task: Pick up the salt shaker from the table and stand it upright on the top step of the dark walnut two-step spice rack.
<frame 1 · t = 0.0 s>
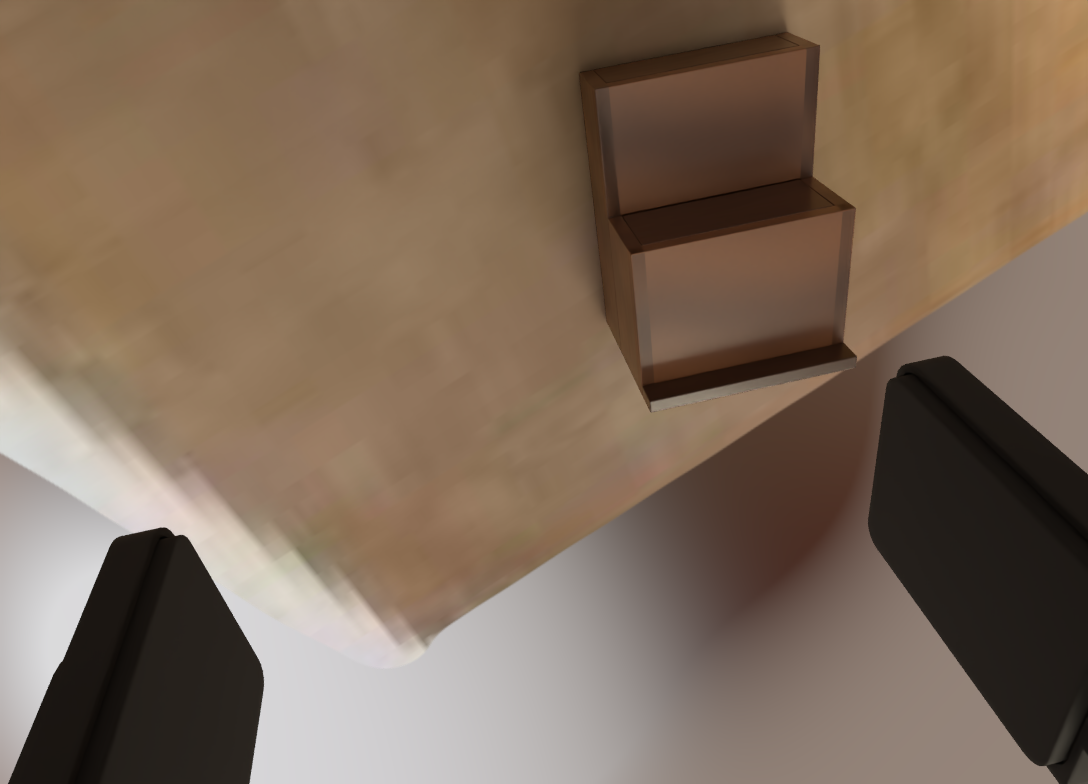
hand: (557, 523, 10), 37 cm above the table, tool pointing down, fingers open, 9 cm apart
spice rack: (689, 190, 48), on the table
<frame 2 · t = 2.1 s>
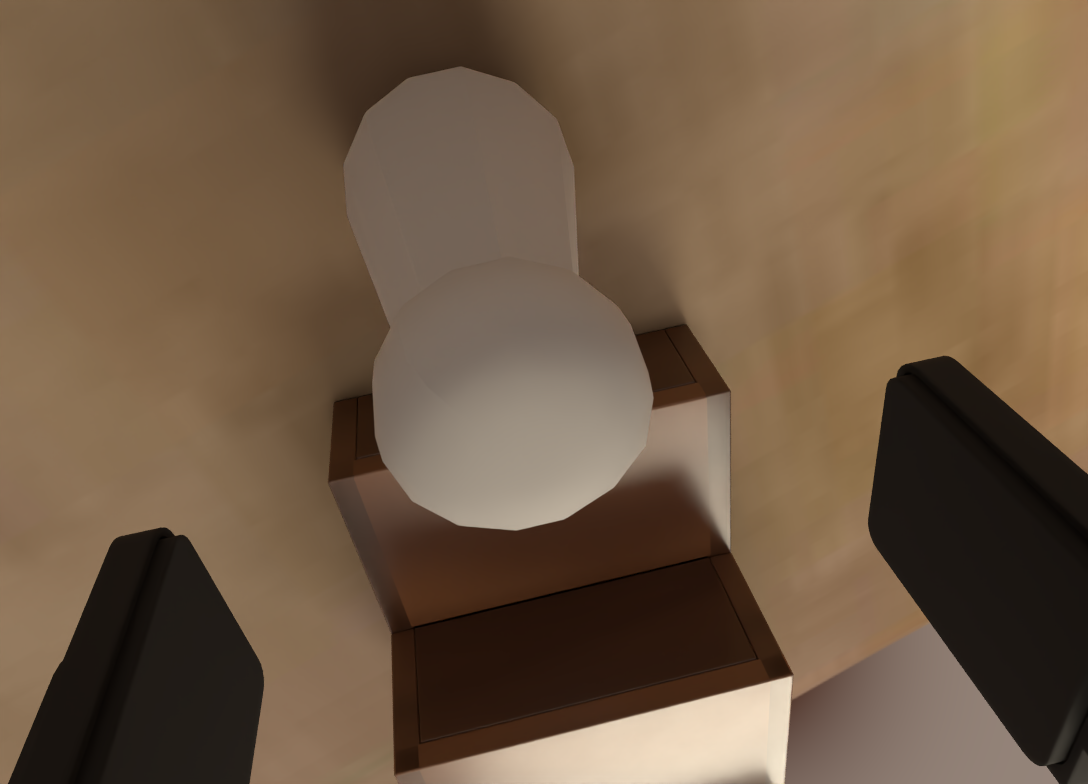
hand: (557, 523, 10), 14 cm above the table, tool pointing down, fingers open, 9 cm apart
salt shaker: (452, 157, 22), on the table
spice rack: (546, 529, 30), on the table
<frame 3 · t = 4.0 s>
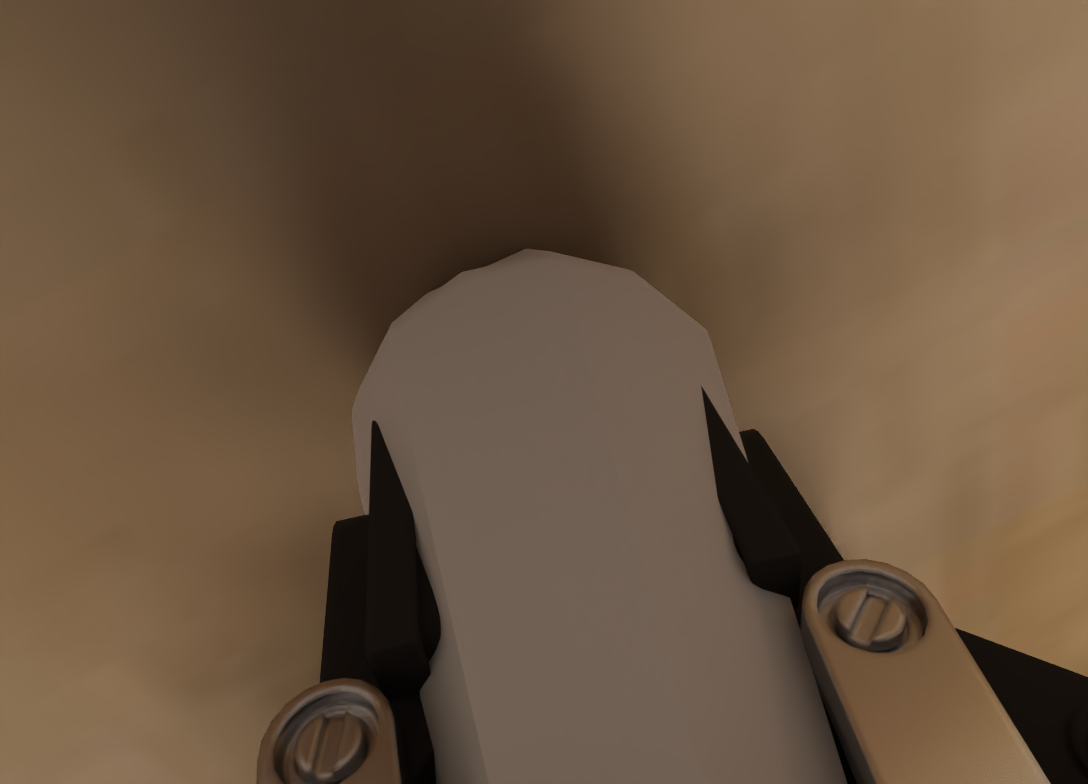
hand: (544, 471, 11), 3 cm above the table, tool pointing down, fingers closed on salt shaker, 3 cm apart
salt shaker: (519, 350, 14), on the table, touching gripper
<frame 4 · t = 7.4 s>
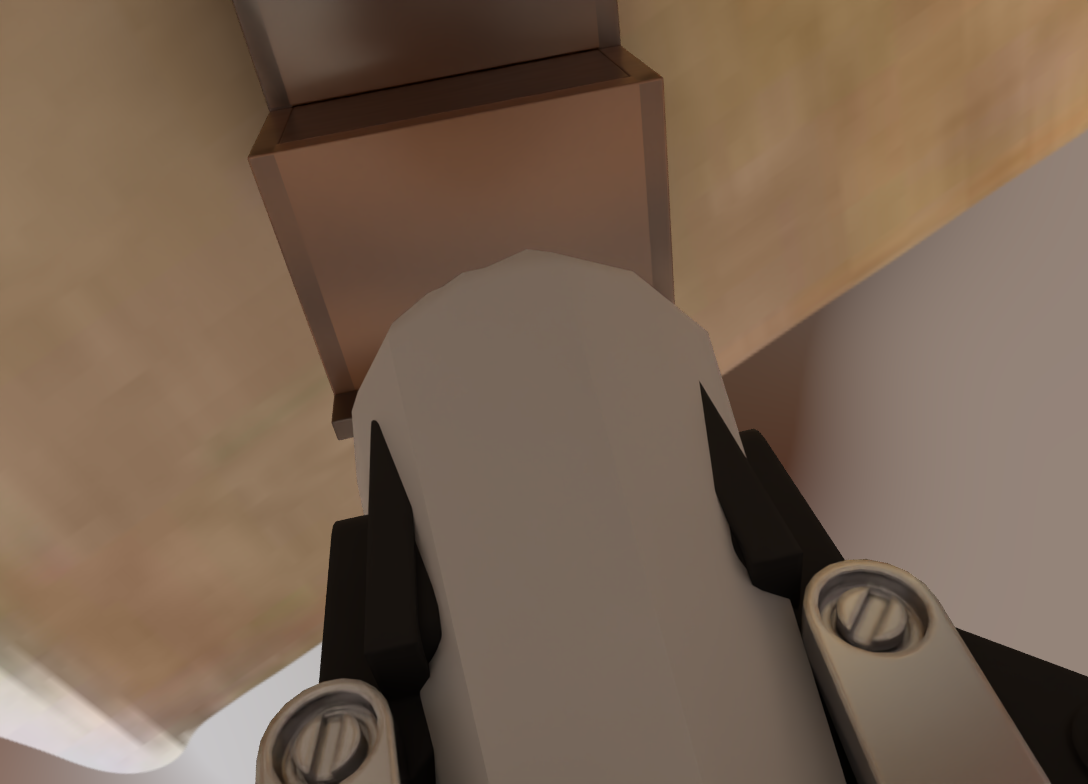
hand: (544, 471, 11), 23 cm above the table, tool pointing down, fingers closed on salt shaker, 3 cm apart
salt shaker: (520, 351, 14), point 20 cm above the table, touching gripper
spice rack: (446, 81, 30), on the table
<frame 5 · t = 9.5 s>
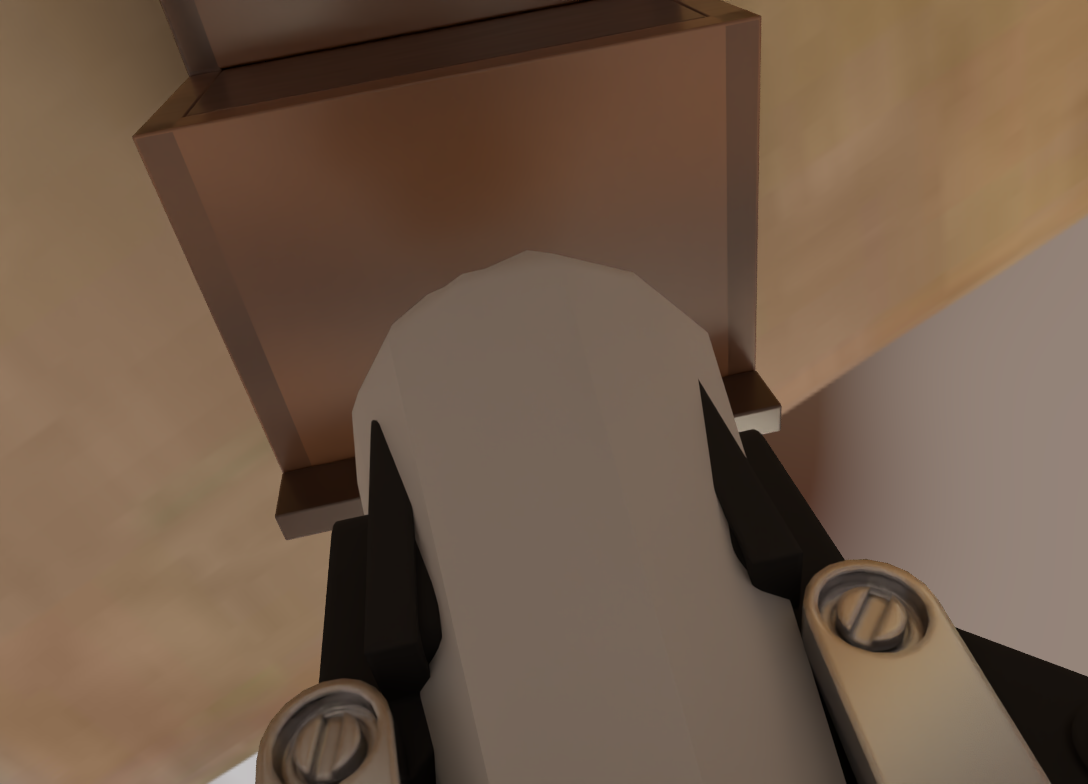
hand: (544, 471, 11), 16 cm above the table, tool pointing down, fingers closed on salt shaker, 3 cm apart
salt shaker: (520, 352, 14), point 12 cm above the table, touching gripper
spice rack: (439, 42, 22), on the table
when the fingers open (12 cm above the table, at t = 10.8 s): salt shaker stays where it is, resting on spice rack.
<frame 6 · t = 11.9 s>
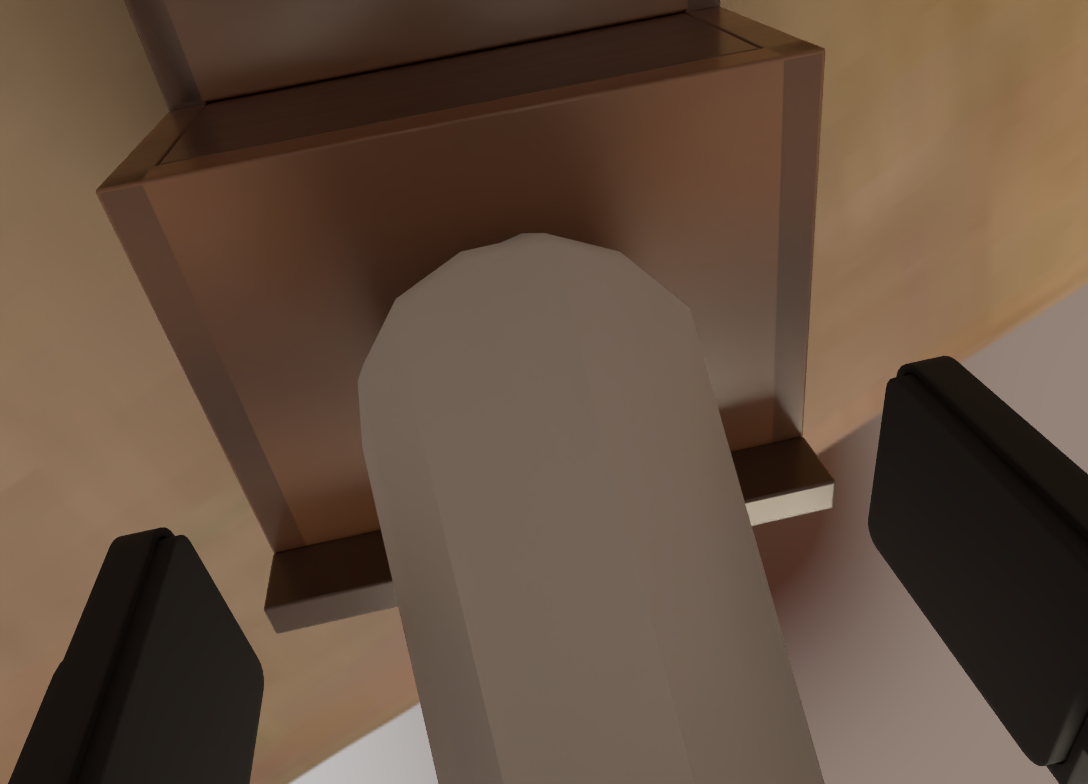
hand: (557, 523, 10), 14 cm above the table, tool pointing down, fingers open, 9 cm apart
salt shaker: (516, 331, 15), point 9 cm above the table, touching spice rack
spice rack: (448, 67, 20), on the table
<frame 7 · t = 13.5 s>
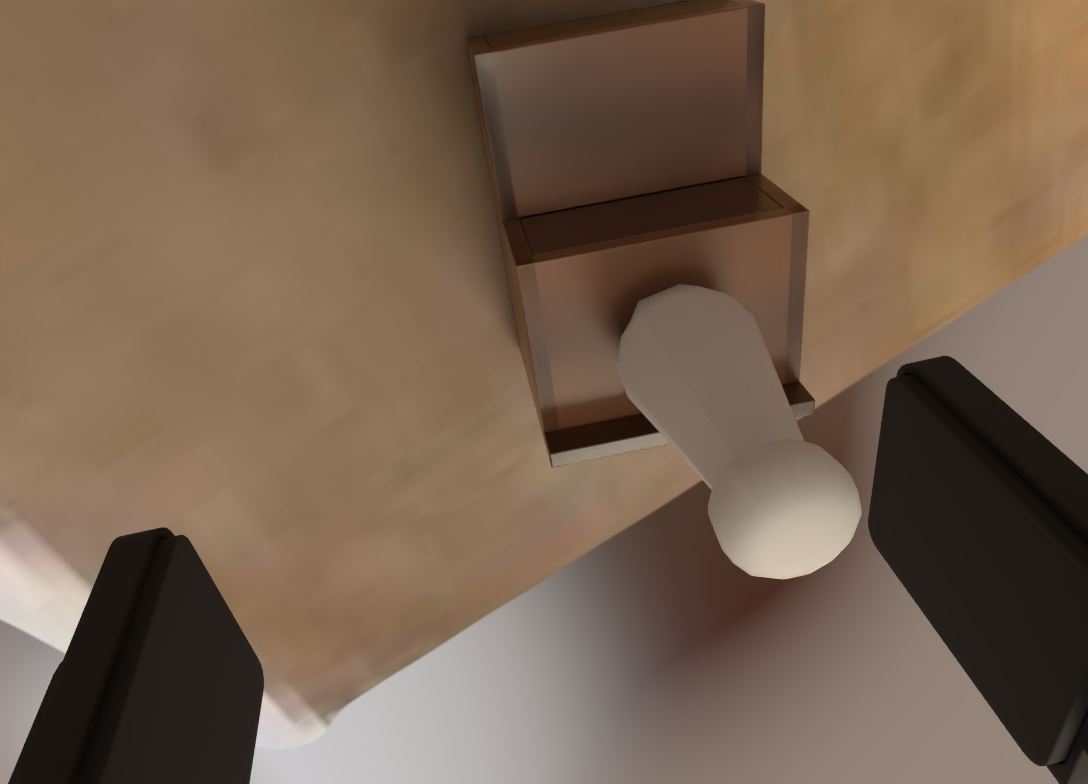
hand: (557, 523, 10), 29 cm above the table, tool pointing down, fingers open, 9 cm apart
salt shaker: (670, 326, 33), point 9 cm above the table, touching spice rack
spice rack: (614, 190, 39), on the table
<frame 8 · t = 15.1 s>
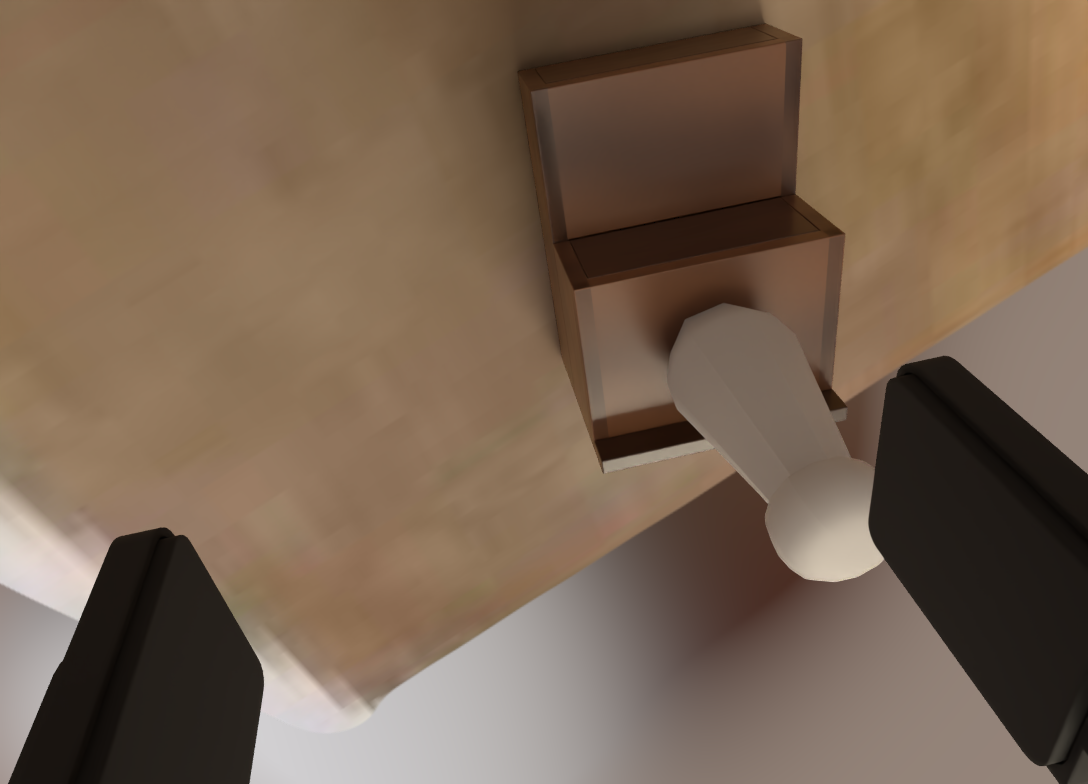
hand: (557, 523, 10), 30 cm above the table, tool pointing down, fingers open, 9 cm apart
salt shaker: (713, 341, 35), point 9 cm above the table, touching spice rack
spice rack: (653, 208, 41), on the table
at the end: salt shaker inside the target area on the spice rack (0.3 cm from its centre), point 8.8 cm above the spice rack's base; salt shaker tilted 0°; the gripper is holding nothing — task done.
